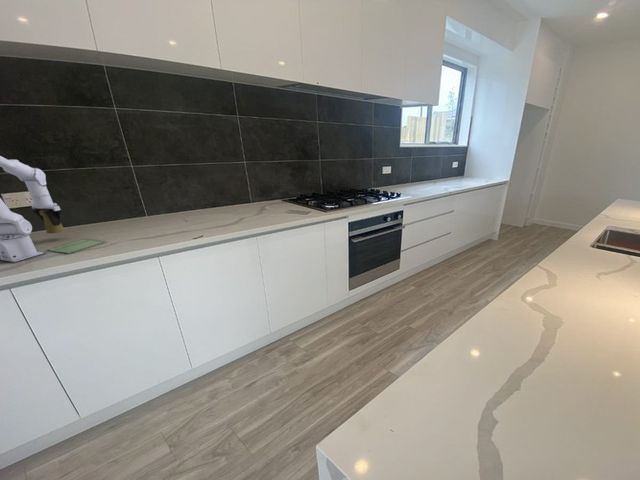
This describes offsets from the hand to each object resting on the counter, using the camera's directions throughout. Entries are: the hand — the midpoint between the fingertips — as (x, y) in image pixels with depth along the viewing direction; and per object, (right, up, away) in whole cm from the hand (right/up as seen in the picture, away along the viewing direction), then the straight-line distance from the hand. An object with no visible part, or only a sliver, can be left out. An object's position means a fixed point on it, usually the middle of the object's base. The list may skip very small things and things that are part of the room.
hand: (53, 224), depth 140 cm
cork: (0, -3, +1) cm, 4 cm away
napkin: (+15, -10, -4) cm, 19 cm away
